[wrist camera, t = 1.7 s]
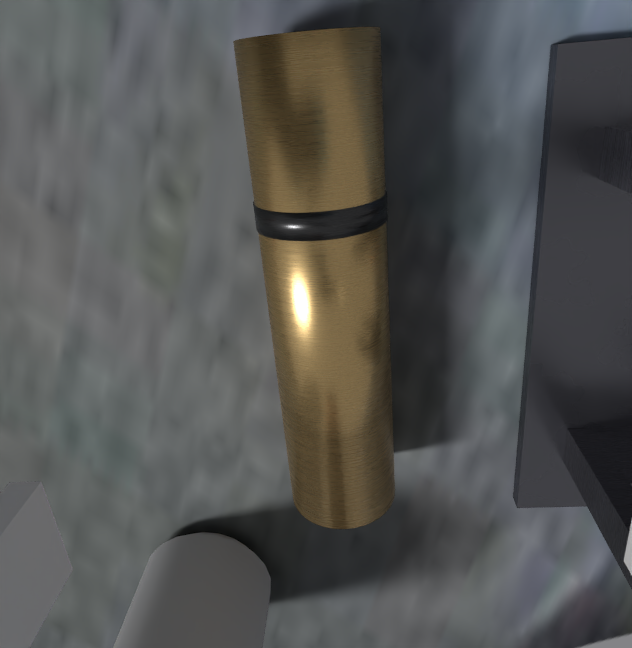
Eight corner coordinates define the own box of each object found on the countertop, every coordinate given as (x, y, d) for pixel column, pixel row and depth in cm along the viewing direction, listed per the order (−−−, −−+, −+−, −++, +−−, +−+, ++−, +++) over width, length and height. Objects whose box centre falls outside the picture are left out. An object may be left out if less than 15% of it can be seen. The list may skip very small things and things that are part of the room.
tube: (261, 43, 22) (207, 41, 17) (390, 29, 21) (368, 23, 16) (307, 453, 30) (278, 522, 26) (401, 462, 29) (388, 536, 25)
